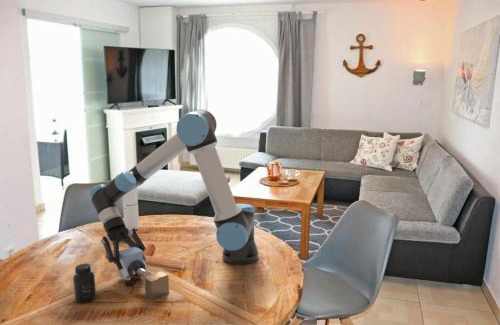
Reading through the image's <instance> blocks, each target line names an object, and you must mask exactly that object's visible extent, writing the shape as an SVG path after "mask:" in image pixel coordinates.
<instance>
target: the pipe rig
mask: <svg viewBox="0 0 500 325" xmlns="http://www.w3.org/2000/svg"><path fill="white" fill-rule="evenodd" d="M134 272H135V273H136V274H138V275H140V276H141V277H140V278H142V279H143V280H144V290H145V292H144V294H145V297H146V298H147V299H149V300H151V301H154V300H156V299H159V298H161V297H163V296H165V295H168V294H170V282H169V280H170V279H169V274H168V273H166V272H164V271H162V270H161V271H158V272H156V273H151V272H150V271H149V270H147V269H146V270H144V269H142V268H140V267H139V266H137V265H136V266H135V267H134V268H133V273H134ZM135 273H134V274H135Z"/></svg>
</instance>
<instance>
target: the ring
mask: <svg viewBox="0 0 500 325" xmlns="http://www.w3.org/2000/svg"><path fill="white" fill-rule="evenodd" d="M138 264H140V268H142V269H144V270H145V264H144V263H142V262H141V261H139V260H136V261H133V262H131V264H130V265H129V267H128V274H129V276H131V278H133V279H134V280H135V279H137V280H138V279H140V278H142V277H141V276H140V275H138V274H135V273H134V272H133V268H134V267H135V266H136V265H138Z"/></svg>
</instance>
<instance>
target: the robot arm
mask: <svg viewBox="0 0 500 325" xmlns="http://www.w3.org/2000/svg"><path fill="white" fill-rule="evenodd" d="M216 130H217V119H216V118H215V116H214V114H212V112H210V111H208V110H206V109H198V110H193V111H188V112H187V113H185V114H183V115H182V116H181V117H180V118H179V119H178V121H177V124H176V133H175V134H174V135H173V136H172V137H170V138H169V139H167V140H166V141H165V142H163V144H161V145H160V146H158V147H157V148H156V149H155V150H153V151H152V152H151V153H150V154H148V155H147V156H146V157H144V158H143V159H142V160H141V161H139V163H137V164H136V165H134V166H133V167H132V168H131V169H129V170H123V171H121V172H120V173H119V174H117V175H116V176H115V177H114V178H113V179H111V181H110V182H109V183H107V184H106V185H105V184H102V183H101V184H97V185H96V186H93V187H92V188H91V189H90V190H89V197H90V201H91V204H92V205H93V207H94V209H95V210H96V213H97V215H98V217H99V220H100V222H101V225H102V226H103V228H104V232H105V233H106V236H103V237H102V238H101V240H100V242H101V243H102V245H103V246H104V249H105V253H106V257H107V260H108V263H110V264H112V263H113V264H114V265H115V266H116V267H117V270H118V271H119V270H121V271H122V273H123V276H124V278H127V276H128V275H129V274H128V271H127V269H126V267H125V265H124V263H123V260H122V259H120V260H119V251H120V247H119V246H120V243H124V244H127V246H128V247H129V248H131V247H137V248H139V249H140V250H142V251H143V253H144V252H145V250H146V246H145V245H144V243H143V242H142V240H141V238H140V237H139V235H138V233H137V230H136V229H135V228H133V229H132V230H128V229H127V228H126V226H125V223H124V218H122V215H121V214H120V211H119V209H118V207H117V204H116V202H118V201H119V200H120V199H122V198H123V196H124V195H125V194H127V193H128V192H130V191H131V190H133V189H135V188H136V187H137V188H138V187H140V186H142V185H143V184H144V183H145V182H146V181H147V180H149V179H150V178H151V177H152V176H154V175H155V174H157V172H159V171H160V170H161V169H162V168H164V167H166V166H167V165H168V164H169V163H170V162H172V161H173V160H175V159H176V158H177V157H178V156H180V155H181V154H182V153H184V152H185V151H186V150H187V153H189V154H192V155H193V157H194V160H195V162H196V165H197V168H198V170H199V171H198V172H199V174H200V175H201V176H200V177H201V179H202V181H203V184H204V187H205V189H206V193H207V195H208V197H209V201H210V203H211V206H212V208H213V211H214V214H215V215H214V216H213V223H214V225H215V227H216V228H215V229H216V232H215V236H216V238H215V239H216V241H217V243H218V245H219V246H220V247H221V248H223V251H222V260H223V261H224V262H226V263H229V264H231V265H237V266H238V265H249V264H252V263H254V262H255V263H256V261H257V260H258V259H259V251H258V247H257V244H256V240H255V213H256V212H255V207H254V206H253V205H251V204H249V203H236V201H235V198H234V195H233V193H232V189H231V188H230V184H229V182H228V178H227V175H226V173H225V170H224V168H223V165H222V162H221V159H220V157H219V154H218V151H217V149H216V147H217V146H216V145H217V143H218V140H217V137H216V134H215V132H216ZM130 236H131V237H130ZM131 238H132V239H131ZM110 241H111V242H112V246H111V245H110V244H111V243H110ZM112 247H113V251H112ZM143 263H144V264H145V270H146V271H147V269H148V265H147V264H146V257H145V254H143Z"/></svg>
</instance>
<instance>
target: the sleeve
mask: <svg viewBox="0 0 500 325" xmlns="http://www.w3.org/2000/svg"><path fill="white" fill-rule="evenodd" d="M143 255H144V252H143V251H142V250H140V249H139V248H137V247H127V248H125V249H122V250H119V260H120V259H122V260H123V263H124V265H125V267H126V269H127V271H128V267H129V265H130V264H131V262H133V261H136V260H139V261H141V262H142V263H143ZM137 266H139V267H140V264H138V265H137ZM118 277H119V278H121V279H122V280H124V281H126V280H128V279H129V278H131V279H132V277H131V276H129V275H128V276H127V278H124V276H123V273H122V271H121V270H118ZM126 282H127V281H126Z"/></svg>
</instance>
